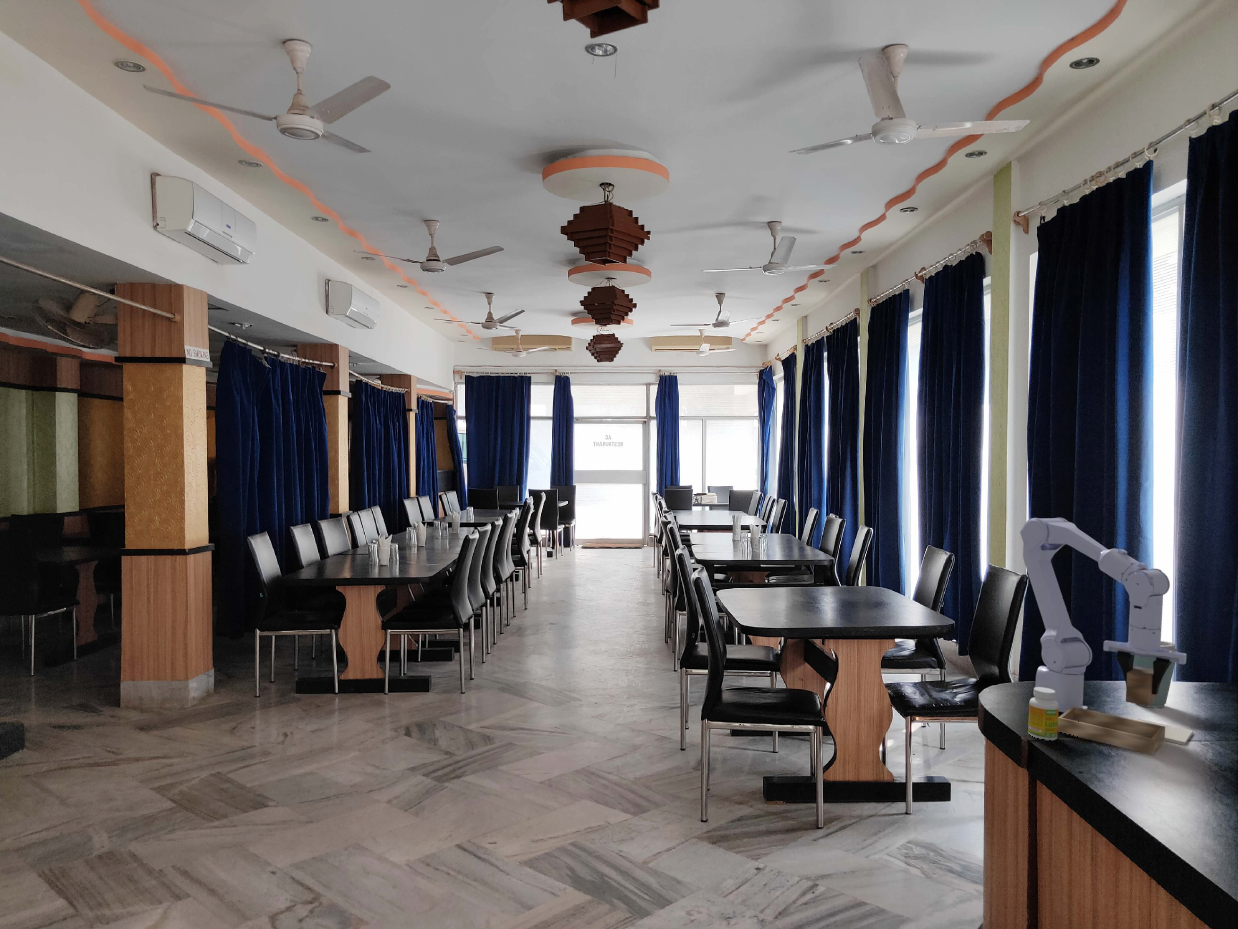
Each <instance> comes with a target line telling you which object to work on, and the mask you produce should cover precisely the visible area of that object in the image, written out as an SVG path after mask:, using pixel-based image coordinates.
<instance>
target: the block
mask: <svg viewBox="0 0 1238 929" xmlns="http://www.w3.org/2000/svg"><path fill="white" fill-rule="evenodd" d="M1152 686H1153V669H1148V668H1143V667H1138V666H1136V667H1134V668H1133V669H1132V670H1131V671H1129V672H1128V673H1127V685H1126V684H1125V688H1126V689H1125V703H1126V702H1127V703H1131V704H1136V705H1138V704H1139V706H1141V705H1144V706H1143V707H1146V706H1149V705H1150V704H1151V703H1152V702H1153V701H1154V700H1155V699H1156V698H1157V694H1156V695H1154V694H1152Z"/></svg>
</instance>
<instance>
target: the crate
mask: <svg viewBox="0 0 1238 929" xmlns="http://www.w3.org/2000/svg"><path fill="white" fill-rule="evenodd" d="M1078 721H1079V722H1078ZM1060 732H1062V733H1061V734H1064V733H1066V734H1065V735H1069V734H1071V735H1070V736H1073V735H1074V736H1073V737H1077V736H1078V737H1077V738H1081V739H1086V740H1089V739H1090V741H1094V742H1098V743H1101V744H1107V745H1110V744H1111V745H1110V746H1115V747H1119V748H1123V749H1127V750H1132V751H1135V752H1139V753H1144V754H1147V755H1152V756H1155V754H1156V753H1157V751H1158V750H1159V749H1160V748H1161V747H1162V745H1163V744H1164V743H1165V742H1166V741H1165V726H1160V725H1156V724H1151V723H1146V722H1142V721H1137V719H1133V718H1127V717H1123V716H1118V715H1115V714H1109V713H1104V712H1100V711H1097V710H1091V709H1083V708H1078V707H1074V706H1072V707H1071V708H1070V709H1068V710H1067V711H1066V712H1065V713H1063V712H1062V714H1061V715H1059V716H1058V733H1060Z"/></svg>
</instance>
